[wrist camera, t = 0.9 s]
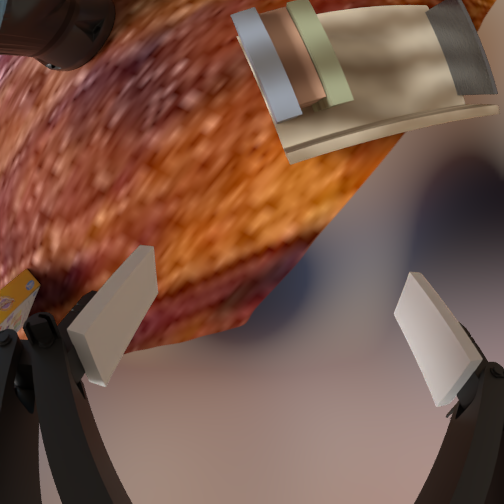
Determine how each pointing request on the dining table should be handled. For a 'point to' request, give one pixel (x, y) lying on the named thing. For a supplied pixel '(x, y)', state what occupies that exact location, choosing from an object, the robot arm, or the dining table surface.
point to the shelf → (349, 74)
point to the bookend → (462, 48)
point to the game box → (17, 300)
